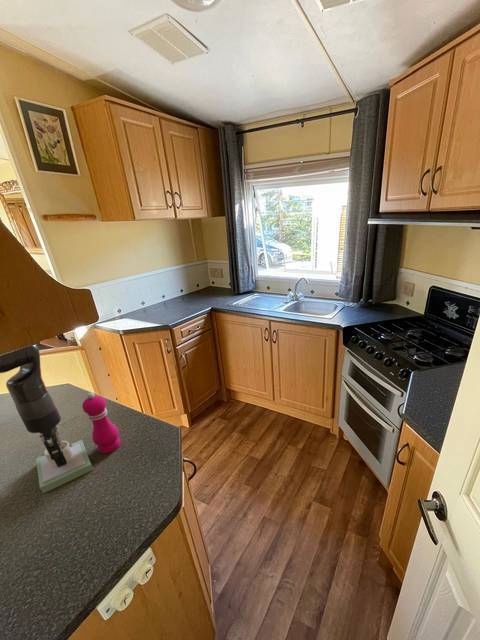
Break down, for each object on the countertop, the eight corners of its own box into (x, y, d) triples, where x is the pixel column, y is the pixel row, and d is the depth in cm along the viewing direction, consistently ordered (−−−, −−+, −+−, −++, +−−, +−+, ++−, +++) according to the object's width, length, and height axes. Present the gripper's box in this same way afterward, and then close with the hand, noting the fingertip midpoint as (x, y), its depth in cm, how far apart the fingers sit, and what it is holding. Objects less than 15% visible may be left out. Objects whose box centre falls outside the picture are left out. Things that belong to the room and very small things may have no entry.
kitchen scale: (38, 464, 87) (35, 457, 85) (84, 445, 93) (81, 438, 92) (43, 493, 77) (38, 486, 75) (93, 469, 83) (90, 462, 82)
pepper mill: (102, 458, 87) (80, 403, 79) (93, 447, 92) (71, 394, 83) (126, 445, 92) (107, 391, 83) (117, 435, 97) (98, 384, 88)
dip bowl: (45, 468, 81) (39, 456, 79) (57, 453, 86) (51, 441, 84) (67, 466, 81) (61, 454, 79) (77, 451, 87) (72, 439, 85)
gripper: (19, 404, 79) (42, 450, 86) (21, 429, 69) (47, 478, 76) (52, 394, 83) (71, 438, 90) (58, 416, 73) (79, 464, 80)
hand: (60, 456), depth 83 cm, fingers open, 8 cm apart
